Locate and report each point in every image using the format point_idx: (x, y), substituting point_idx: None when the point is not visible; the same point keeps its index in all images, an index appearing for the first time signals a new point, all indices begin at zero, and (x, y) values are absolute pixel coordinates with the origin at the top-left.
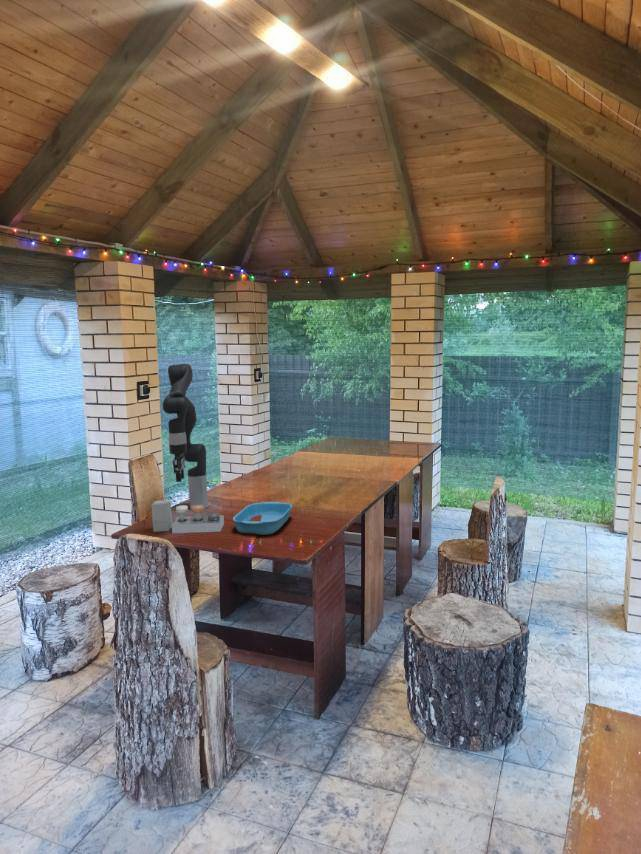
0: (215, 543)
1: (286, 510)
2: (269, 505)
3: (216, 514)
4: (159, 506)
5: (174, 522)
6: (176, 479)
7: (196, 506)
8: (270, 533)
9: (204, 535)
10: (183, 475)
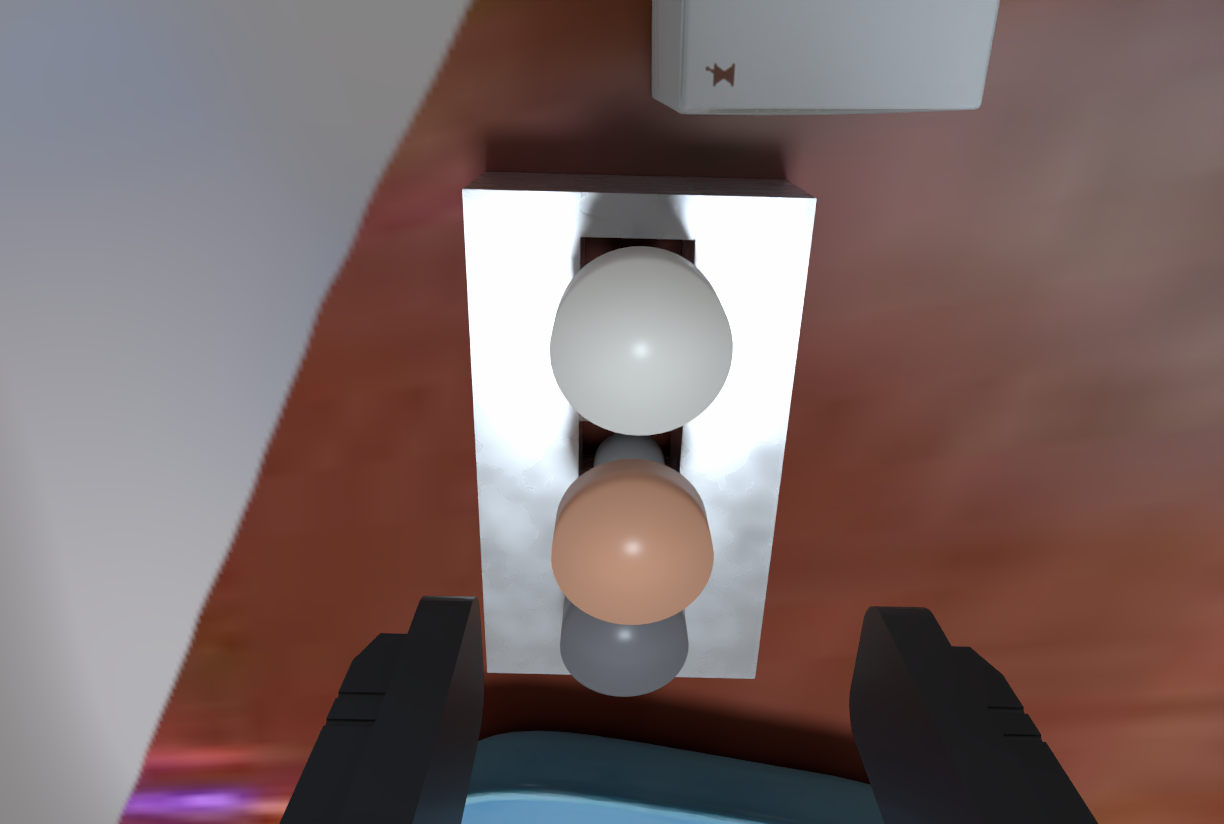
0: (248, 593)
1: None
2: None
3: (613, 673)
4: None
5: (549, 208)
6: (406, 651)
7: (620, 550)
8: None
9: (466, 485)
10: (882, 799)
